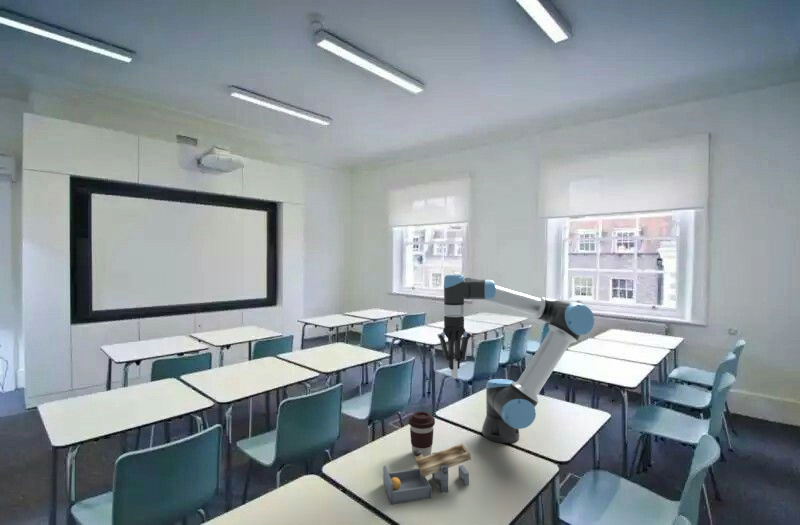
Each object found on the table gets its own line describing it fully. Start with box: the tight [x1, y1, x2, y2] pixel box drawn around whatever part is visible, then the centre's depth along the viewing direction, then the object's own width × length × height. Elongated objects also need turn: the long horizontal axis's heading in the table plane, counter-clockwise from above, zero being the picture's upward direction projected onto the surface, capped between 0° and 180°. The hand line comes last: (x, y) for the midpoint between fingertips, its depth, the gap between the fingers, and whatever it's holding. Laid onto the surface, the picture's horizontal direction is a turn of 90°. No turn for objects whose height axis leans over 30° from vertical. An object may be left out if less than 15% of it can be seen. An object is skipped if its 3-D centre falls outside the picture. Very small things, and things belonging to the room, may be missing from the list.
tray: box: [382, 465, 432, 505], centre depth 121 cm, size 13×11×6 cm
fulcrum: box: [431, 451, 449, 494], centre depth 124 cm, size 2×10×8 cm, turn 14°
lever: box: [412, 443, 472, 478], centre depth 128 cm, size 17×14×2 cm
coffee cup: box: [408, 411, 436, 457], centre depth 143 cm, size 10×10×15 cm
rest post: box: [457, 464, 470, 486], centre depth 126 cm, size 2×5×4 cm, turn 14°
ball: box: [391, 477, 401, 490], centre depth 120 cm, size 4×4×4 cm
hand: (454, 377), depth 143 cm, fingers closed
